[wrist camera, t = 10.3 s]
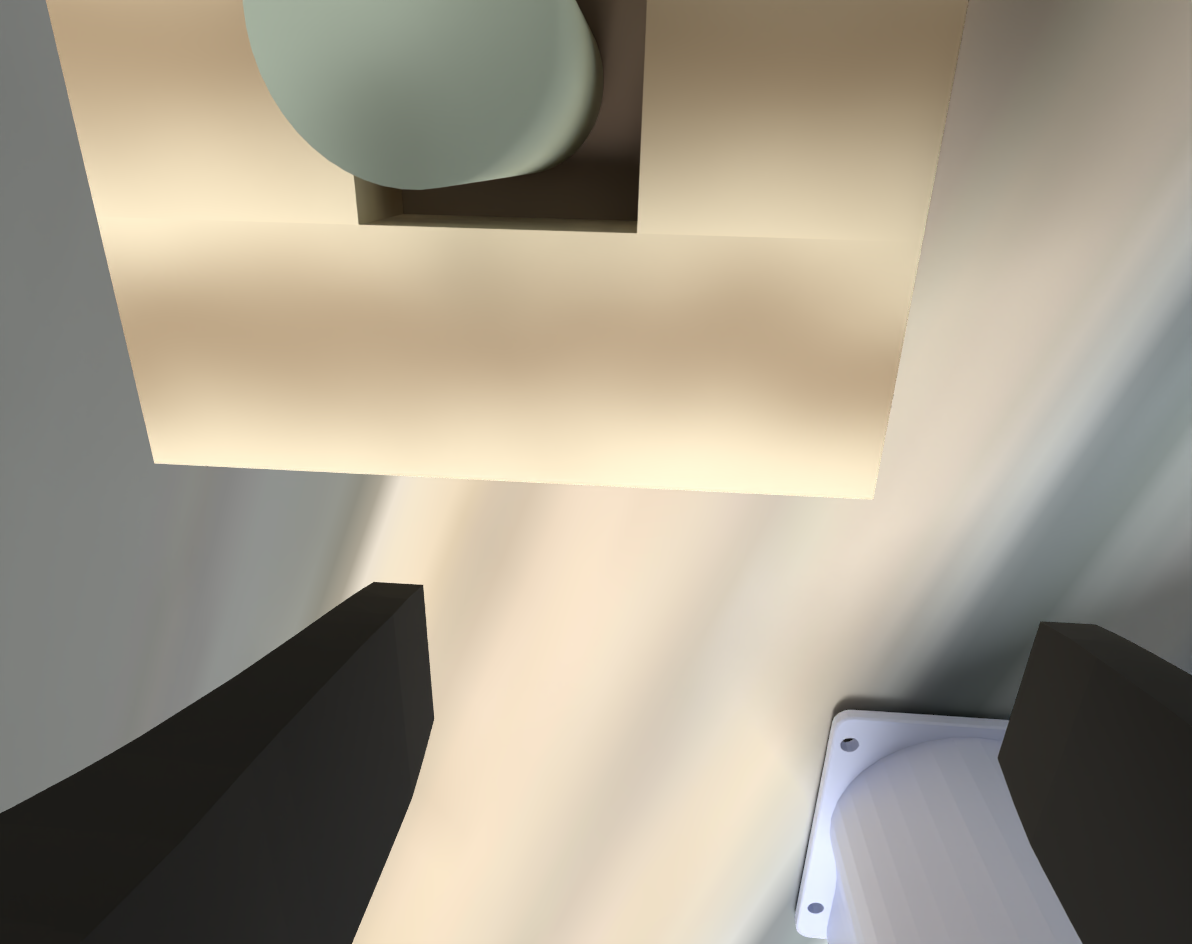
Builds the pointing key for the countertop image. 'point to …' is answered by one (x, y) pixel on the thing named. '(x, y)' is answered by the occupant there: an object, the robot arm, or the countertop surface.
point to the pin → (431, 84)
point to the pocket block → (530, 255)
